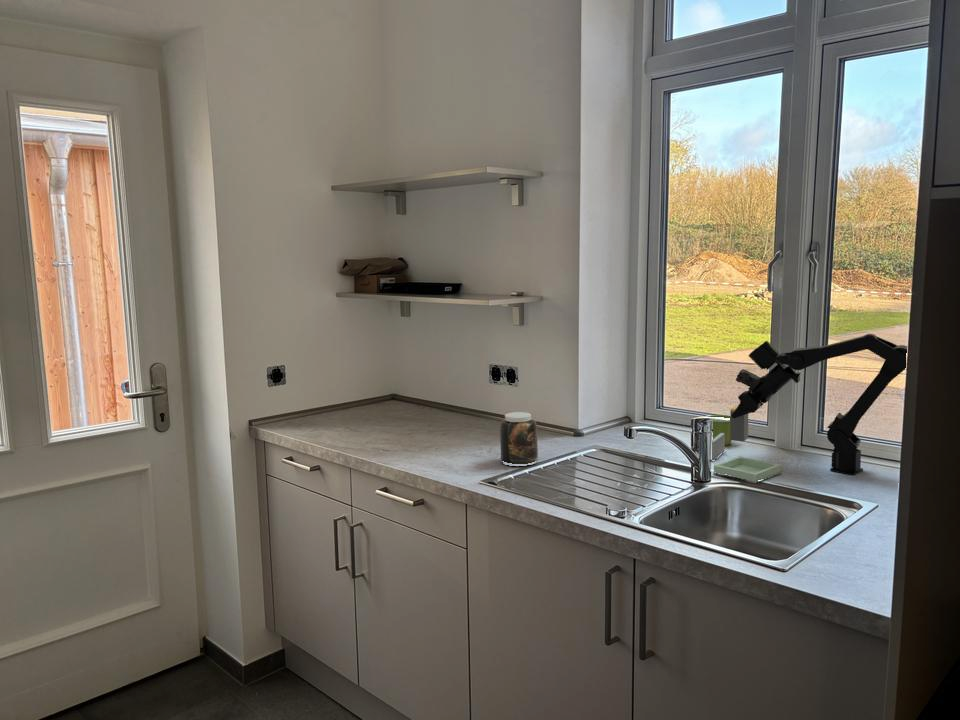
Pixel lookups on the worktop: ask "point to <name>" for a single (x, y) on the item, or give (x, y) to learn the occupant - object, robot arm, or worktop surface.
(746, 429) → the grey yellow-capped canister
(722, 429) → the plant pot
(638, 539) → the worktop surface
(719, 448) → the panel
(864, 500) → the worktop surface
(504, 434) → the jar
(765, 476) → the tray
